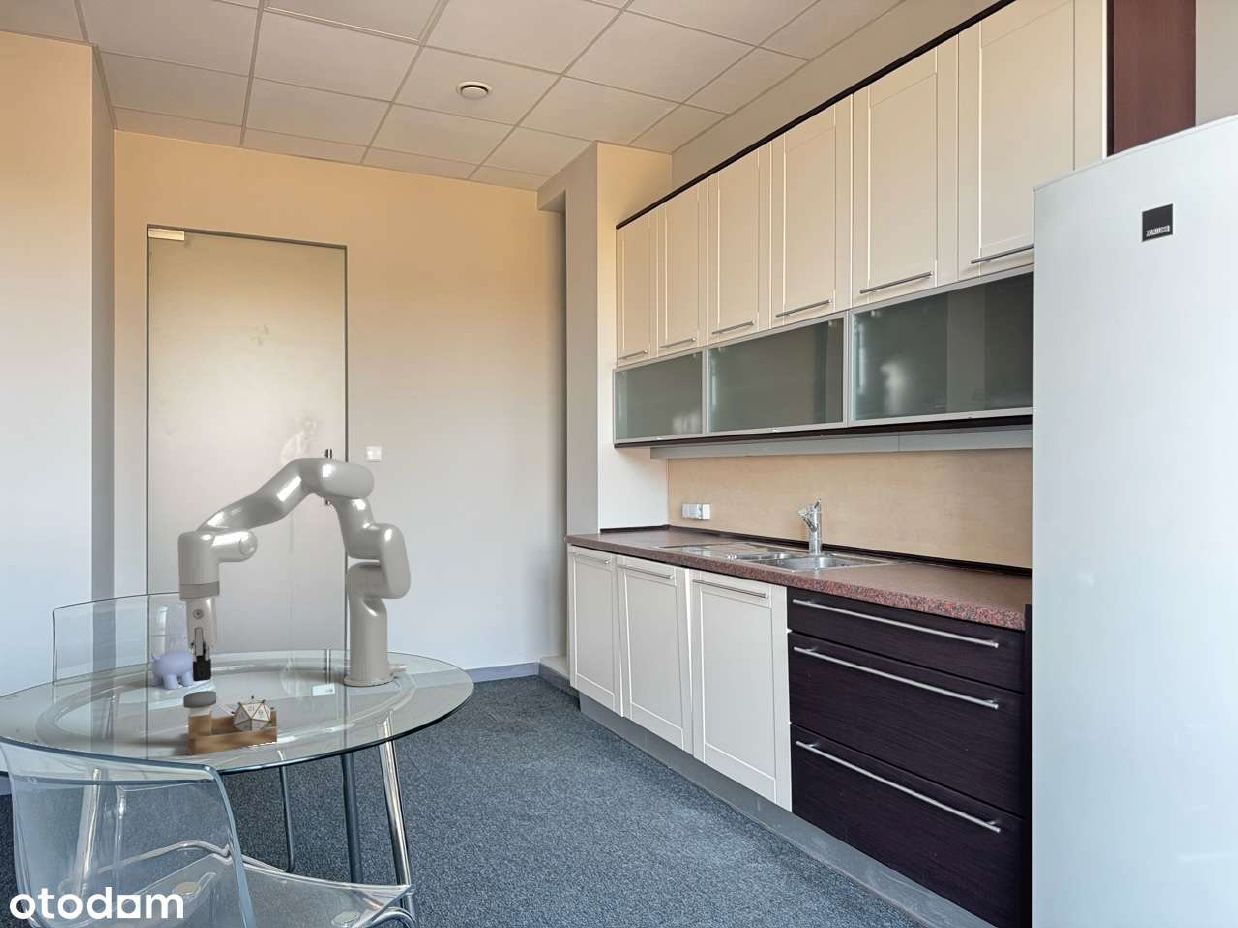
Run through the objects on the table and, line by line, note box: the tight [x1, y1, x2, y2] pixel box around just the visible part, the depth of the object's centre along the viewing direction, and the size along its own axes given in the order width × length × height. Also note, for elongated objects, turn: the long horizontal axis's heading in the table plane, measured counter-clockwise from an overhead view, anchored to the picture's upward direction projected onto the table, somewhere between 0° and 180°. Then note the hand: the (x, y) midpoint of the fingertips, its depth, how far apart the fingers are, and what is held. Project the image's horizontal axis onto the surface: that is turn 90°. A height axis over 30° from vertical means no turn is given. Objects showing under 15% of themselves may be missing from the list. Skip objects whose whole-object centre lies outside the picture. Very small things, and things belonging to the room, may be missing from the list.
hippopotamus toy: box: [150, 650, 198, 691], centre depth 218 cm, size 11×15×10 cm
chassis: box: [187, 709, 278, 756], centre depth 171 cm, size 16×14×8 cm
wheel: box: [182, 690, 217, 717], centre depth 169 cm, size 6×6×4 cm
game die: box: [229, 694, 275, 732], centre depth 173 cm, size 9×8×10 cm
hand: (202, 679), depth 169 cm, fingers closed
